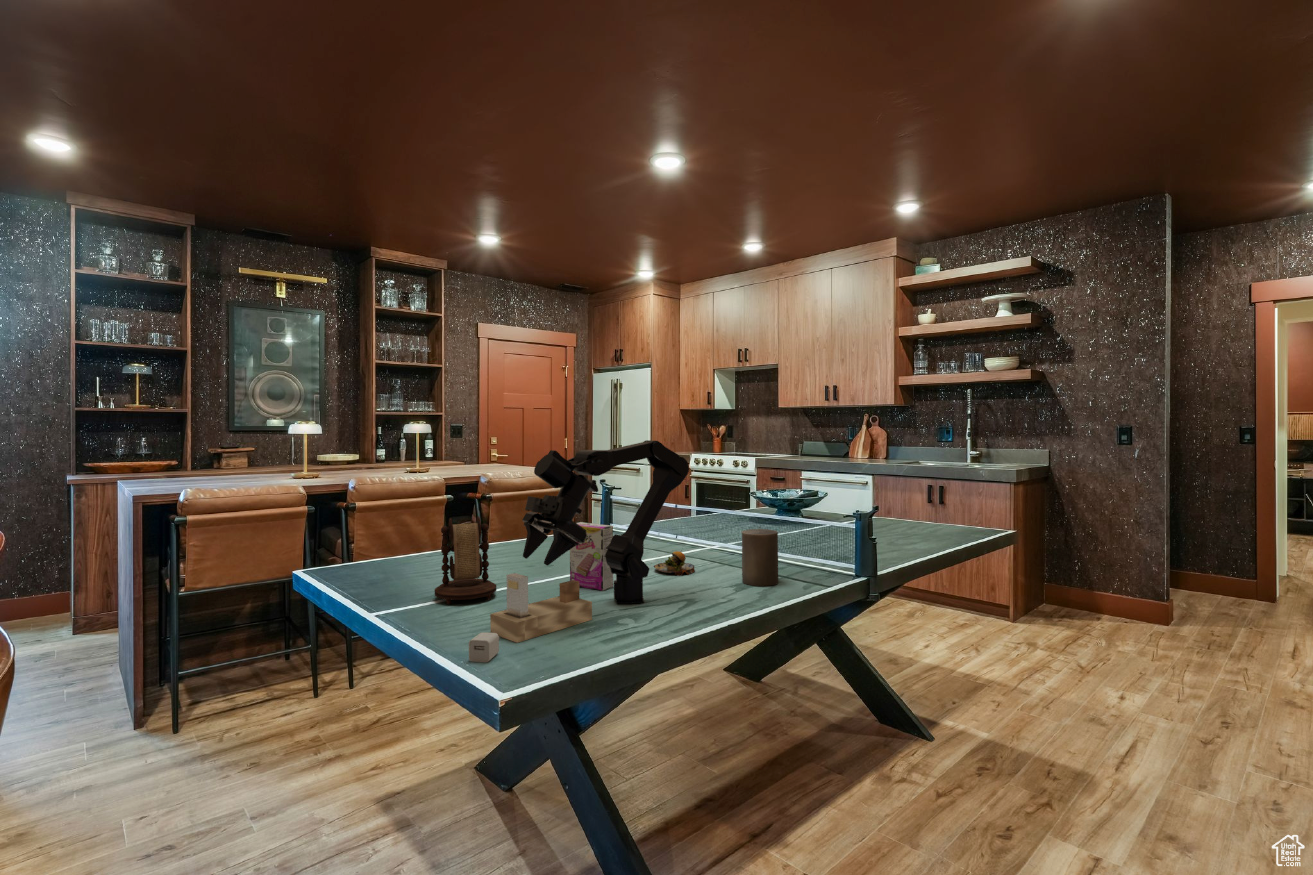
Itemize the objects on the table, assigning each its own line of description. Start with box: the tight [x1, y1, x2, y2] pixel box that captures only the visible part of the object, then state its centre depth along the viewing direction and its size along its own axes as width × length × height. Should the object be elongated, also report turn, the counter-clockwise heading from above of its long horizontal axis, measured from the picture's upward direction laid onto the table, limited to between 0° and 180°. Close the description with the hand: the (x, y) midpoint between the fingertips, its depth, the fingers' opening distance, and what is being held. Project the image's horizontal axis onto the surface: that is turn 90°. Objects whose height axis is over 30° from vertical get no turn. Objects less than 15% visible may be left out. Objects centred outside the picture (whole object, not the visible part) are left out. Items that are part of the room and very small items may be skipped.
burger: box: [653, 547, 696, 577], centre depth 194 cm, size 12×12×8 cm
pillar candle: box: [741, 526, 779, 587], centre depth 180 cm, size 10×10×15 cm
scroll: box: [434, 516, 497, 606], centre depth 166 cm, size 15×15×20 cm
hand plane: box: [489, 580, 593, 644], centre depth 143 cm, size 20×9×8 cm, turn 138°
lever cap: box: [506, 572, 529, 619], centre depth 138 cm, size 2×4×12 cm, turn 48°
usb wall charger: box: [468, 632, 500, 663], centre depth 126 cm, size 4×7×4 cm, turn 171°
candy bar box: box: [569, 521, 614, 592], centre depth 176 cm, size 11×5×16 cm, turn 58°
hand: (534, 561), depth 146 cm, fingers open, 9 cm apart
